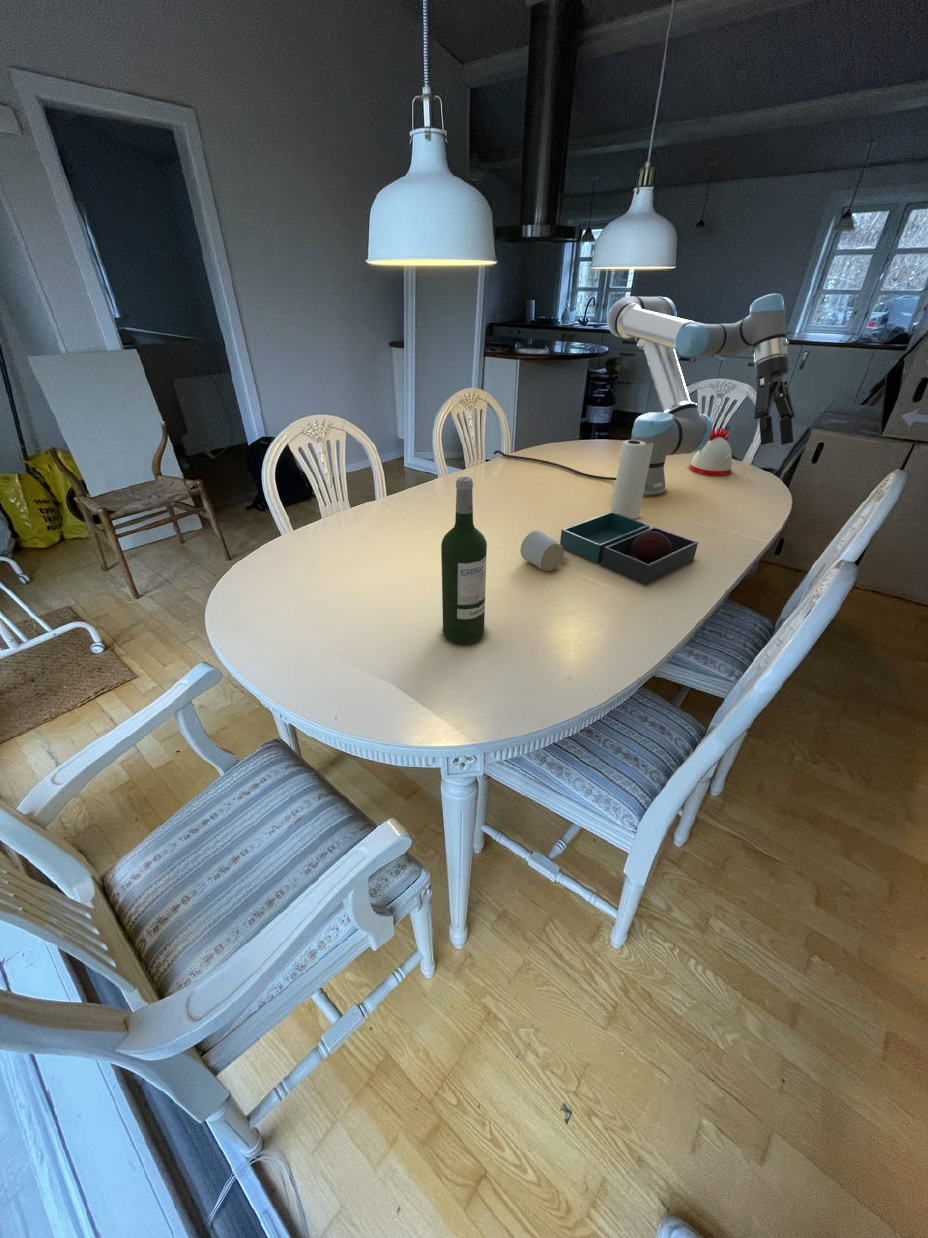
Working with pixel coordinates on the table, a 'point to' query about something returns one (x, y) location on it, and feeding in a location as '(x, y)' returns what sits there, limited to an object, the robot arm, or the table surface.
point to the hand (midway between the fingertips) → (777, 443)
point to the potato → (651, 546)
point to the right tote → (631, 567)
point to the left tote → (599, 535)
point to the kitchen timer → (714, 456)
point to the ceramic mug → (542, 551)
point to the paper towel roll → (631, 478)
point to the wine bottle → (463, 572)
